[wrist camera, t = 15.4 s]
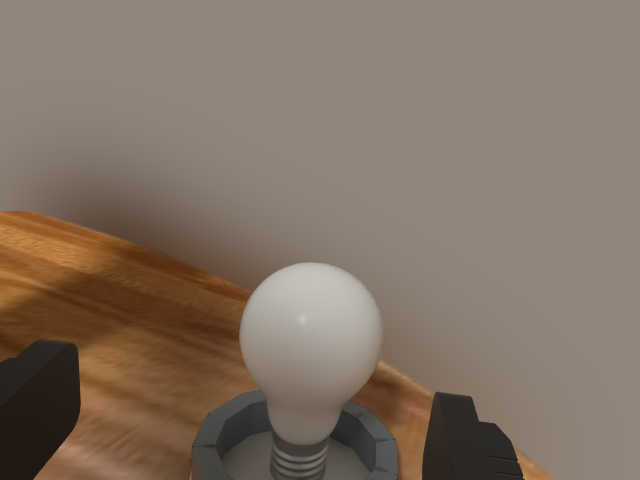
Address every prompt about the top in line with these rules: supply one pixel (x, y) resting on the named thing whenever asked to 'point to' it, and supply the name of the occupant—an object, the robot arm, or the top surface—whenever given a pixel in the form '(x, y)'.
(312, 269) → the lightbulb
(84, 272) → the top surface
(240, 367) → the top surface
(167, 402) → the top surface
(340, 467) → the bulb holder
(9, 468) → the robot arm
